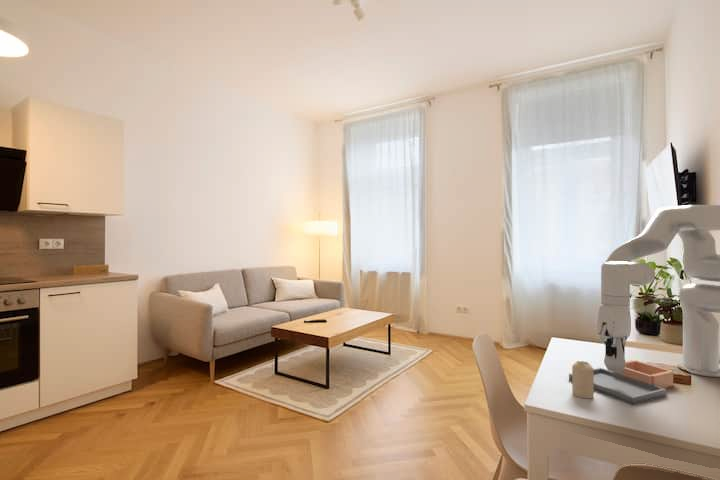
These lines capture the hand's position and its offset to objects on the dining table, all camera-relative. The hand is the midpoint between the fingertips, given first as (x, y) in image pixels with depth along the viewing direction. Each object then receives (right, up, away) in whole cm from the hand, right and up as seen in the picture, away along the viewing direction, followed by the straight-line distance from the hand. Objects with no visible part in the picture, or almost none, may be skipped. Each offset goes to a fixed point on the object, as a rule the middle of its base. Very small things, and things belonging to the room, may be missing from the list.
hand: (614, 357), depth 115 cm
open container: (+13, -10, +5) cm, 17 cm away
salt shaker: (0, -4, 0) cm, 4 cm away
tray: (0, -10, 0) cm, 10 cm away
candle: (-14, -10, -6) cm, 18 cm away
